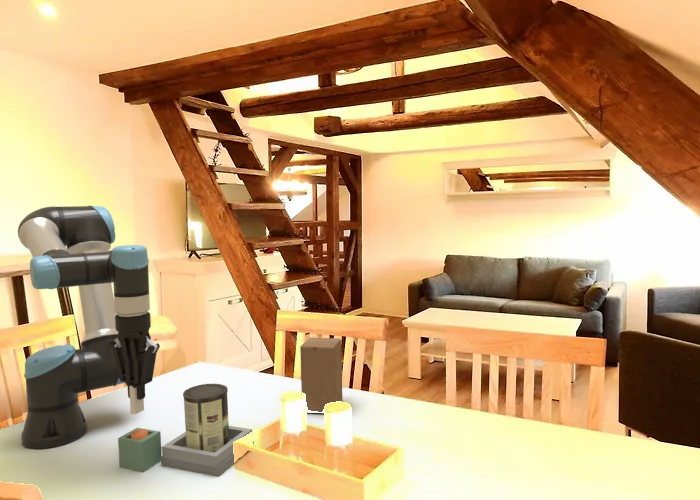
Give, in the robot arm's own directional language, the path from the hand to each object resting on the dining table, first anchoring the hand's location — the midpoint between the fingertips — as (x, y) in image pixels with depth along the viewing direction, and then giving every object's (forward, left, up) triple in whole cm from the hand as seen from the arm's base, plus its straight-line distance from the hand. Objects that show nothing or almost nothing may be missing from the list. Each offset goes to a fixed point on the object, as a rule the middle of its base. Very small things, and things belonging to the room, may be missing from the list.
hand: (137, 411), depth 122 cm
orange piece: (+1, 0, -10) cm, 10 cm away
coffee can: (+13, +8, -11) cm, 19 cm away
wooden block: (+28, +44, -13) cm, 54 cm away
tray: (+14, +8, -12) cm, 20 cm away
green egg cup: (+1, 0, -12) cm, 12 cm away
